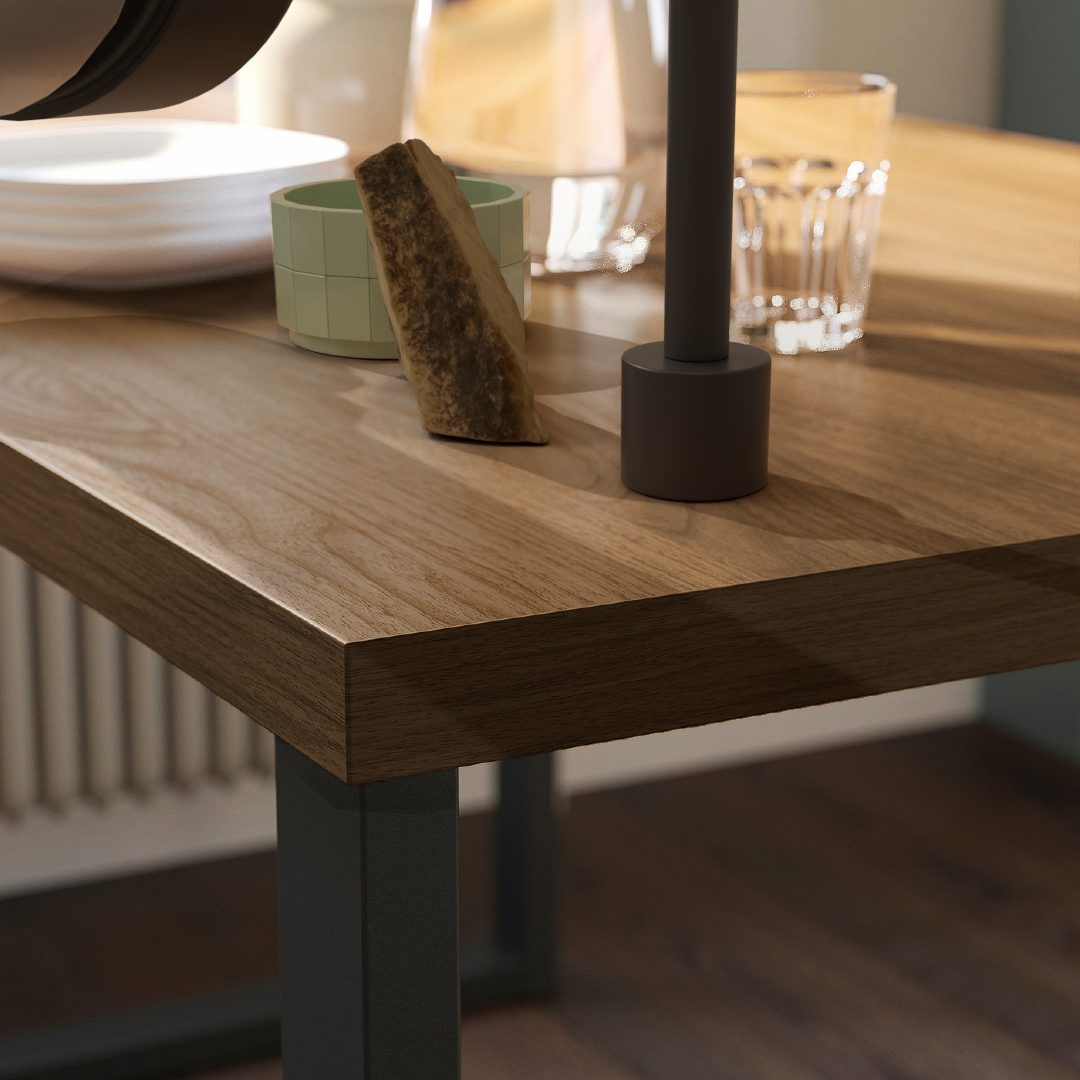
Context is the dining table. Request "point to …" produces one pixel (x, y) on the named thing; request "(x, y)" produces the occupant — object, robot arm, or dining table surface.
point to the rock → (446, 300)
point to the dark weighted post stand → (697, 292)
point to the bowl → (371, 261)
